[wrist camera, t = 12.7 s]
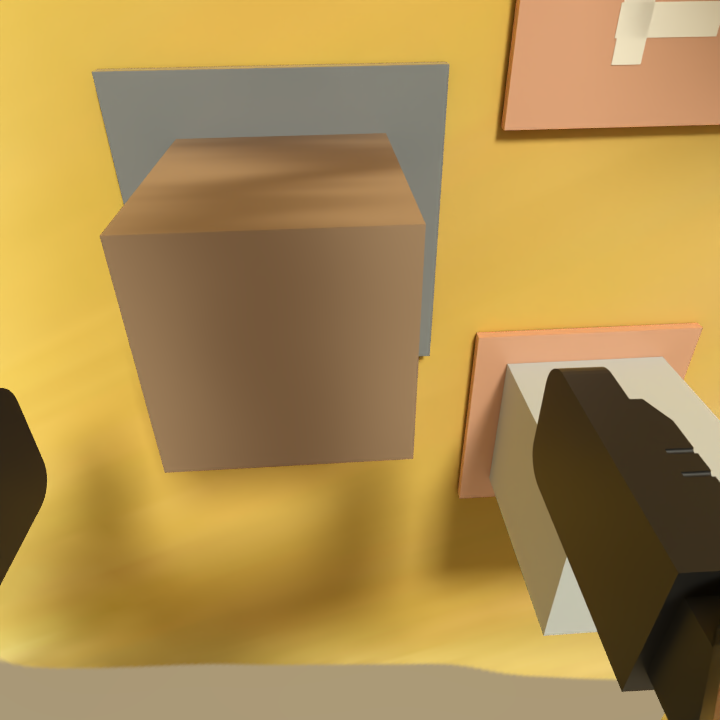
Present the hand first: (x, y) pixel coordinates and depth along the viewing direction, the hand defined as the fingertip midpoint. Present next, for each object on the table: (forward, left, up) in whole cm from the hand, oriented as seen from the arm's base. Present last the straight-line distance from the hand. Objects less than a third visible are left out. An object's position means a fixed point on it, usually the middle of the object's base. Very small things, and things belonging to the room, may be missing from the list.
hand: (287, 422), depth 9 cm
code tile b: (-9, +7, -8) cm, 14 cm away
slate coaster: (0, 0, -8) cm, 8 cm away
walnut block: (0, 0, -8) cm, 8 cm away
